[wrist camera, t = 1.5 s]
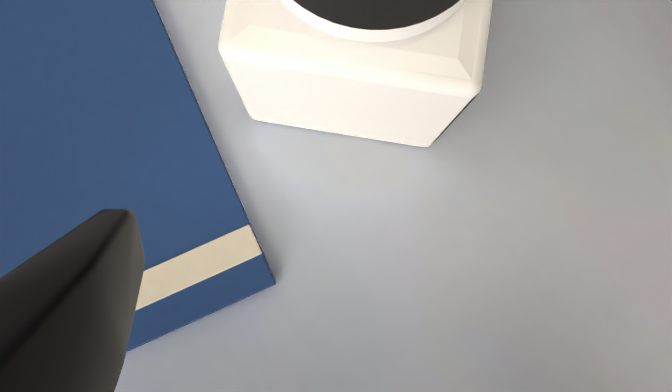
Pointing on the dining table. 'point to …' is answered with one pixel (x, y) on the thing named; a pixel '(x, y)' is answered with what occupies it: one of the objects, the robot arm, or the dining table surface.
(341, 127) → the medicine bottle
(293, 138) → the dining table surface
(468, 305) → the dining table surface
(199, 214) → the cloth
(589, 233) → the dining table surface
